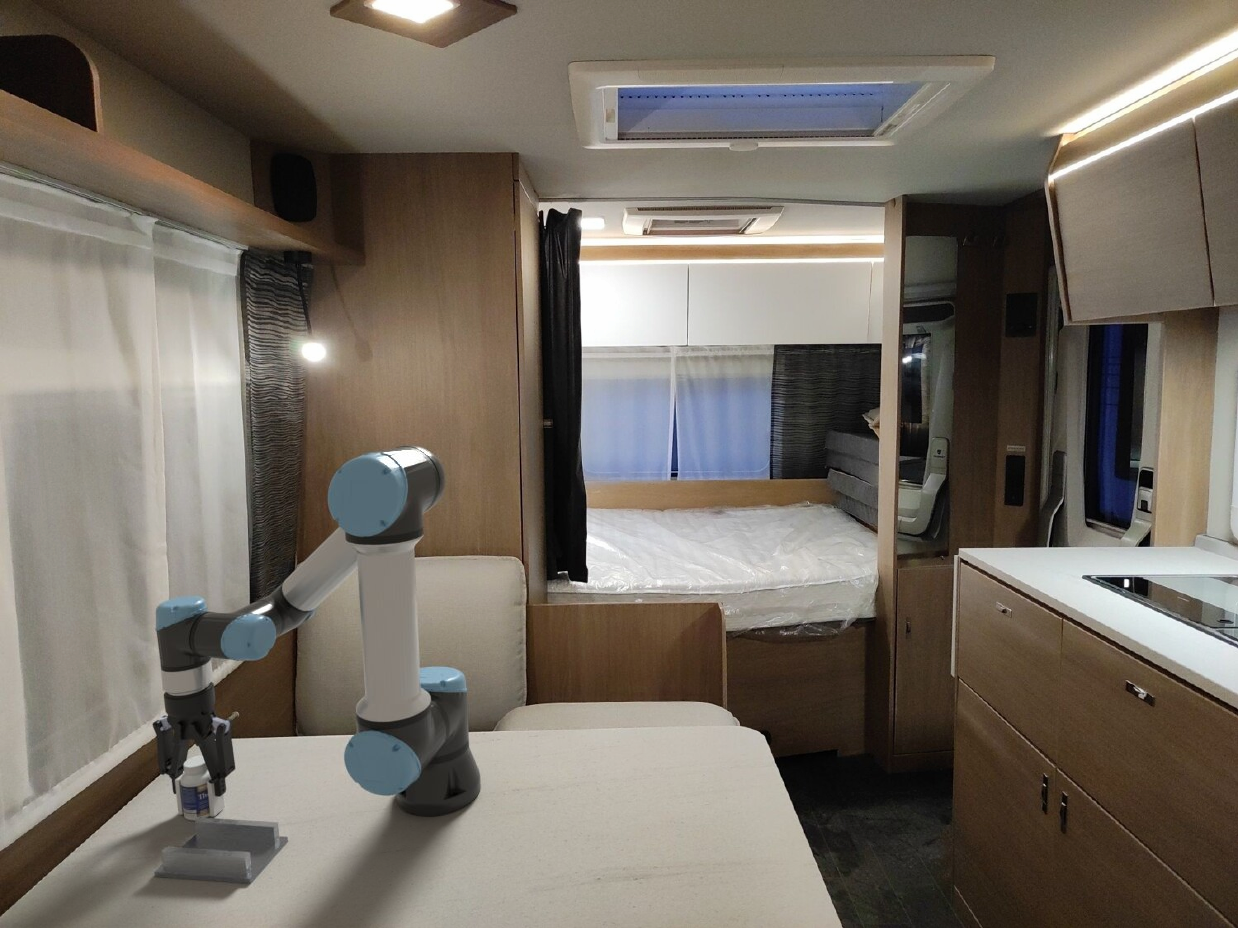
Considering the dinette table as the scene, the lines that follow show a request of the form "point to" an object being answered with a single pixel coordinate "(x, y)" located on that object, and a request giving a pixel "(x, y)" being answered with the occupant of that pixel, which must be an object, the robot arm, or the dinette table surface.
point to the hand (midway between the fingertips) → (201, 810)
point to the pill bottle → (195, 788)
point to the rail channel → (223, 851)
